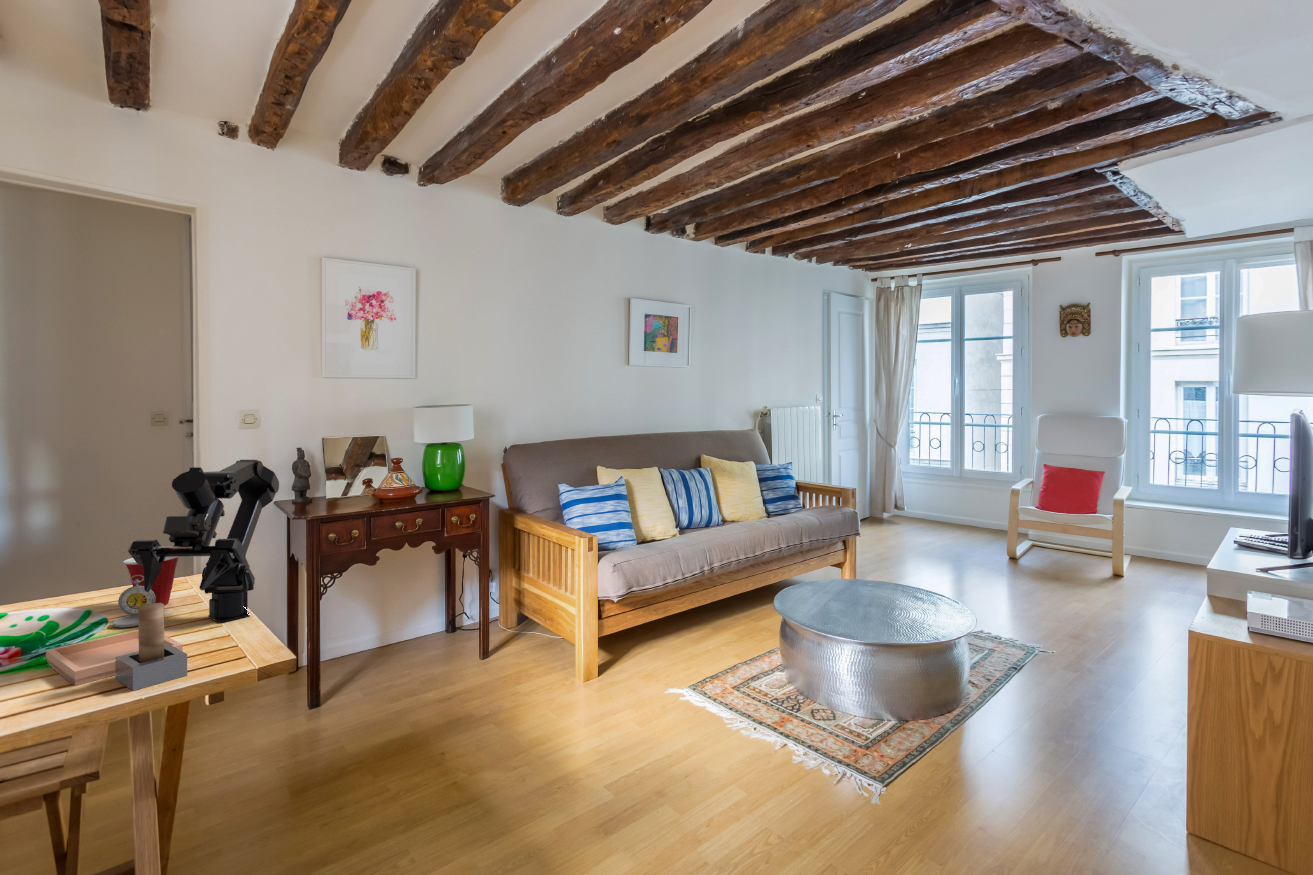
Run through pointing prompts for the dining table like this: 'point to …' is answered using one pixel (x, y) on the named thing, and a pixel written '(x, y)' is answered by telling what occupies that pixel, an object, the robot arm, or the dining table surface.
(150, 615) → the dowel
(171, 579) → the plastic cup
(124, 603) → the pocket watch
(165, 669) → the socket
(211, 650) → the dining table surface
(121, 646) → the tray
